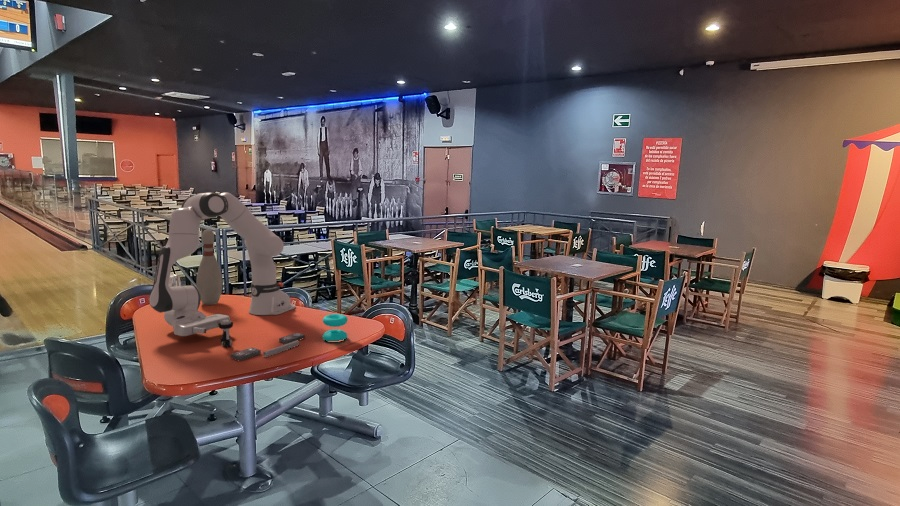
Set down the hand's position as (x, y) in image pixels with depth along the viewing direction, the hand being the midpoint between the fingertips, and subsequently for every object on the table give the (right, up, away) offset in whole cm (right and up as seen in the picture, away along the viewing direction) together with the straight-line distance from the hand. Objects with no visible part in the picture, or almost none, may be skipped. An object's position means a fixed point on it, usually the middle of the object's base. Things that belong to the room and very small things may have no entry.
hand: (215, 328), depth 189 cm
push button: (+4, -7, -1) cm, 8 cm away
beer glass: (-45, +3, +49) cm, 67 cm away
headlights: (+24, -8, -3) cm, 25 cm away
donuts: (+44, -7, +11) cm, 46 cm away
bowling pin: (-30, +4, +56) cm, 63 cm away
